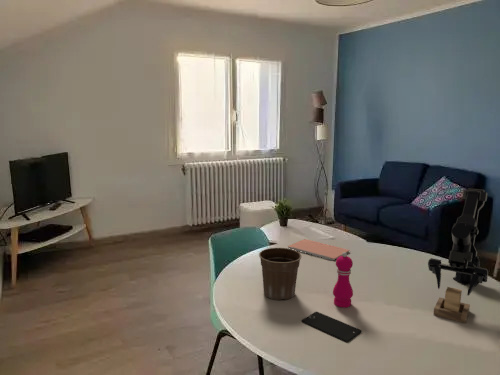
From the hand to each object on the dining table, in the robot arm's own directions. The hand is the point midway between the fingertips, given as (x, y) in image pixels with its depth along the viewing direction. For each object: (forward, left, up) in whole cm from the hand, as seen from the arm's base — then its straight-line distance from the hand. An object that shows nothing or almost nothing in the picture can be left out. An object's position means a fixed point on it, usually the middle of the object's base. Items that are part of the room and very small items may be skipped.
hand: (453, 291), depth 139 cm
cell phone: (+44, -6, -9) cm, 45 cm away
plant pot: (+51, -34, -9) cm, 62 cm away
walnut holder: (-1, -1, -9) cm, 9 cm away
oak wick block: (-1, -1, -9) cm, 9 cm away
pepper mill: (+32, -19, -9) cm, 38 cm away
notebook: (+14, -73, -9) cm, 75 cm away
